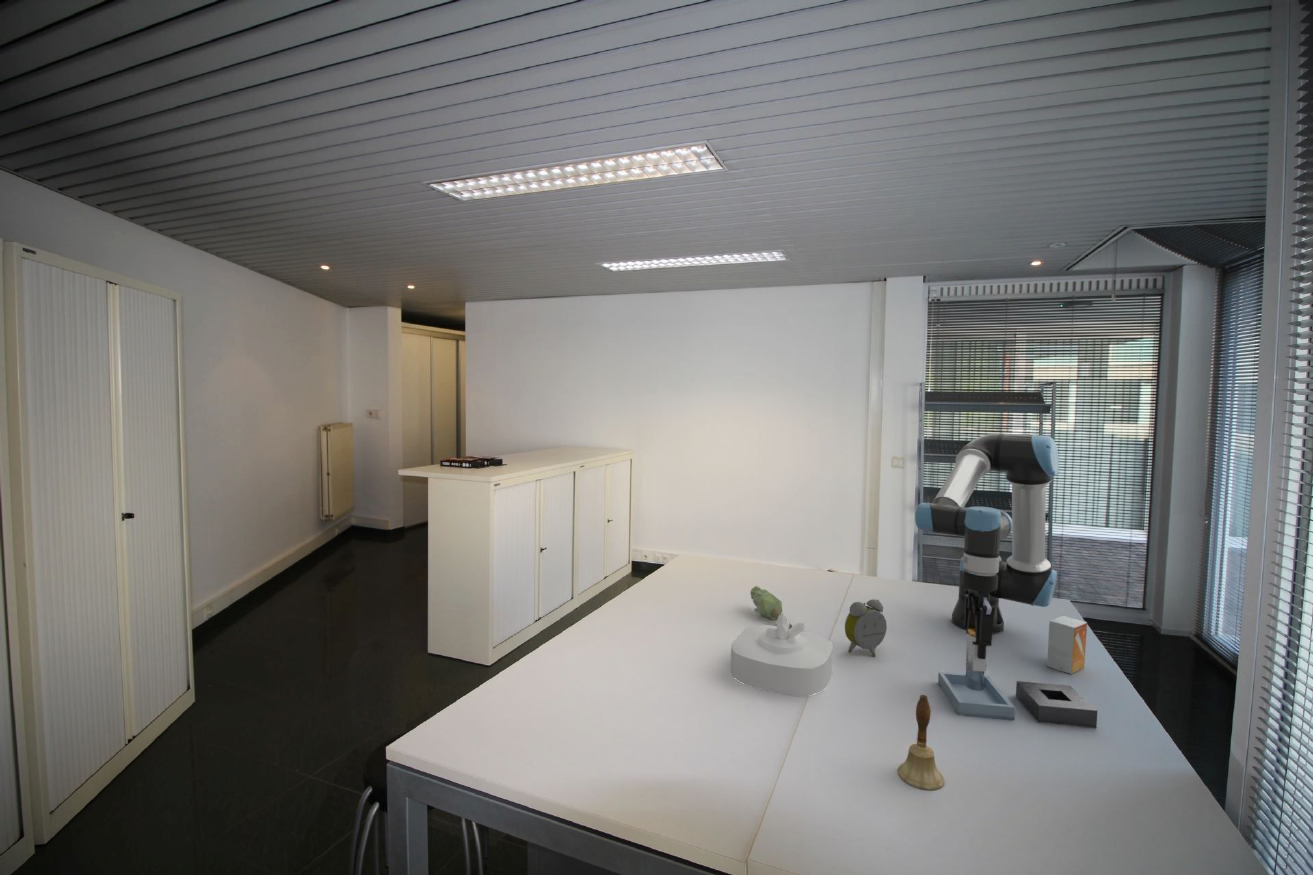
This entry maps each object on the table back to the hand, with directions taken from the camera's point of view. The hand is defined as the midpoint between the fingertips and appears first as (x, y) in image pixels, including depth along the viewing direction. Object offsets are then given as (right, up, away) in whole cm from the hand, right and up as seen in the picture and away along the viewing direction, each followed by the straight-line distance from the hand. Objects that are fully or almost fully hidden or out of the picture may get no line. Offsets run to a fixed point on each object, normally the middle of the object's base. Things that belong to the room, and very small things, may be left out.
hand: (975, 665), depth 145 cm
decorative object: (-39, -5, +54) cm, 67 cm away
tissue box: (-44, -8, +15) cm, 47 cm away
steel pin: (0, -5, 0) cm, 5 cm away
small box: (+36, -8, +20) cm, 42 cm away
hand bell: (-26, -10, -29) cm, 41 cm away
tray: (0, -9, +1) cm, 9 cm away
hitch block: (+16, -9, -4) cm, 19 cm away
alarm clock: (-17, -7, +28) cm, 33 cm away
